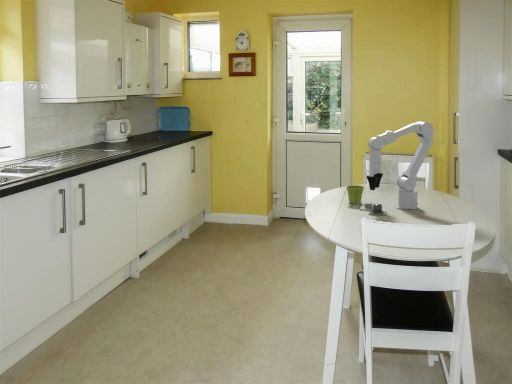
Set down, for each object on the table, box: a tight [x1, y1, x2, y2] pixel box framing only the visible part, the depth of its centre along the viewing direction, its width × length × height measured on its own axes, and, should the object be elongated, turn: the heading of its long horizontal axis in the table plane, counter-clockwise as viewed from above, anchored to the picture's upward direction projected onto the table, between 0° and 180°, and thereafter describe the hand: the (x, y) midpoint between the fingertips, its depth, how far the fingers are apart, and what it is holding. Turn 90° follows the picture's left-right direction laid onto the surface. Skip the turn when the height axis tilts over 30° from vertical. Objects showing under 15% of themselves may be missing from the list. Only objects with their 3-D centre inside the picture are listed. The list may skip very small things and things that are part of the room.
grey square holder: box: [359, 201, 373, 211], centre depth 282 cm, size 8×8×3 cm
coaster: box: [368, 210, 387, 217], centre depth 272 cm, size 8×8×1 cm
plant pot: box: [345, 184, 365, 205], centre depth 296 cm, size 9×9×9 cm
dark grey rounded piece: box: [371, 203, 384, 214], centre depth 272 cm, size 6×4×4 cm
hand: (374, 188), depth 280 cm, fingers open, 7 cm apart
